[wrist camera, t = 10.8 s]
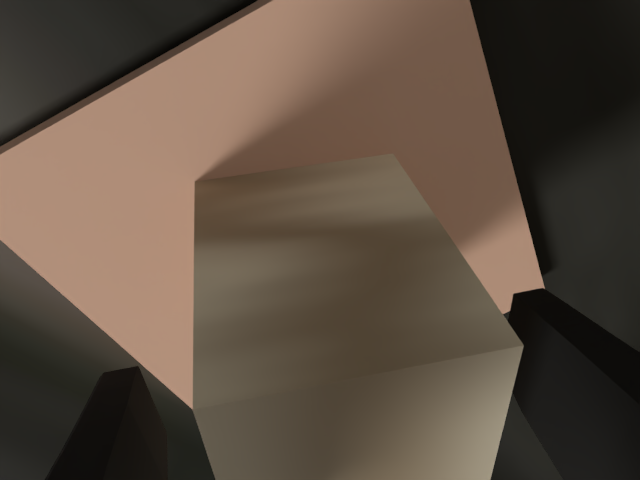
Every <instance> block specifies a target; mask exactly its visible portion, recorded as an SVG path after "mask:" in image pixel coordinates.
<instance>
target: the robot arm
mask: <svg viewBox="0 0 640 480" xmlns="http://www.w3.org/2000/svg"><path fill="white" fill-rule="evenodd" d="M508 323H509V324H510V326H511V327H512V329H513V330H514V332H515V333H516V335H517V336H518V338H519V339H520V340H521V342H522V343H523V345H524V347H523V351H522V355H521V359H520V363H519V367H518V371H517V375H516V379H515V383H514V387H513V391H512V392H513V394H514V396H515V398H516V400H517V403H518V405H519V407H520V409H521V411H522V413H523V414H524V416H525V418H526V419H527V421H528V423H529V424H530V426H531V428H532V429H533V431H534V433H535V434H536V436H537V438H538V439H539V441H540V443H541V444H542V446H543V447H544V449H545V451H546V452H547V454H548V456H549V457H550V459H551V460H552V462H553V464H554V465H555V467H556V469H557V470H558V472H559V473H560V475H561V477H562V478H563V480H640V352H638V351H637V350H635V349H634V348H632V347H630V346H629V345H627V344H626V343H624V342H623V341H621V340H620V339H618V338H617V337H615V336H614V335H612V334H611V333H609V332H608V331H606V330H605V329H603V328H602V327H600V326H599V325H598V324H596V323H595V322H593V321H592V320H590V319H589V318H587V317H586V316H584V315H583V314H581V313H580V312H578V311H577V310H575V309H574V308H572V307H571V306H569V305H568V304H567V303H565V302H564V301H562V300H561V299H559V298H558V297H556V296H555V295H553V294H551V293H550V292H548V291H547V290H545V289H544V288H539V289H534V290H529V291H524V292H519V293H514V294H513V298H512V303H511V309H510V314H509V319H508ZM45 480H168V473H167V433H166V430H165V428H164V426H163V423H162V421H161V419H160V416H159V414H158V411H157V409H156V407H155V404H154V402H153V400H152V397H151V395H150V393H149V390H148V388H147V386H146V383H145V381H144V378H143V376H142V374H141V371H140V369H139V367H138V366H136V367H131V368H126V369H120V370H115V371H110V372H105V373H103V374H102V376H101V377H100V378H99V380H98V382H97V384H96V386H95V388H94V390H93V392H92V394H91V396H90V398H89V400H88V402H87V404H86V405H85V407H84V409H83V411H82V413H81V415H80V417H79V419H78V421H77V423H76V425H75V427H74V428H73V430H72V432H71V434H70V436H69V438H68V440H67V441H66V443H65V445H64V447H63V449H62V451H61V452H60V454H59V456H58V458H57V459H56V461H55V463H54V465H53V466H52V468H51V470H50V472H49V474H48V475H47V477H46V479H45Z"/></svg>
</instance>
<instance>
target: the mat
mask: <svg viewBox="0 0 640 480" xmlns="http://www.w3.org/2000/svg"><path fill="white" fill-rule="evenodd" d="M392 153H393V154H394V156H395V157H396V158H397V160H398V161H399V163H400V164H401V166H402V167H403V169H404V170H405V172H406V173H407V175H408V176H409V178H410V179H411V180H412V182H413V183H414V185H415V186H416V188H417V189H418V191H419V192H420V194H421V195H422V197H423V198H424V200H425V201H426V202H427V204H428V205H429V207H430V208H431V210H432V211H433V213H434V214H435V216H436V217H437V219H438V220H439V222H440V223H441V225H442V226H443V227H444V229H445V230H446V232H447V233H448V235H449V236H450V238H451V239H452V241H453V242H454V244H455V245H456V247H457V248H458V249H459V251H460V252H461V254H462V255H463V257H464V258H465V260H466V261H467V263H468V264H469V266H470V267H471V269H472V270H473V271H474V273H475V274H476V276H477V277H478V279H479V280H480V282H481V283H482V285H483V286H484V288H485V289H486V291H487V292H488V294H489V295H490V296H491V298H492V299H493V301H494V302H495V304H496V305H497V307H498V308H499V310H500V311H501V313H502V314H504V313H506V312H508V311H510V309H511V303H512V298H513V294H514V293H519V292H524V291H529V290H534V289H539V288H544V284H543V280H542V276H541V272H540V269H539V265H538V261H537V257H536V253H535V249H534V246H533V242H532V238H531V234H530V230H529V226H528V223H527V219H526V215H525V211H524V207H523V203H522V200H521V196H520V192H519V188H518V184H517V180H516V177H515V173H514V169H513V165H512V161H511V157H510V154H509V150H508V146H507V142H506V138H505V134H504V131H503V127H502V123H501V119H500V115H499V111H498V108H497V104H496V100H495V96H494V92H493V88H492V85H491V81H490V77H489V73H488V69H487V65H486V62H485V58H484V54H483V50H482V46H481V42H480V39H479V35H478V31H477V27H476V23H475V19H474V16H473V12H472V8H471V4H470V0H258V1H256V2H254V3H253V4H251V5H249V6H247V7H246V8H244V9H242V10H240V11H238V12H237V13H235V14H233V15H231V16H230V17H228V18H226V19H224V20H223V21H221V22H219V23H217V24H216V25H214V26H212V27H210V28H208V29H207V30H205V31H203V32H201V33H200V34H198V35H196V36H194V37H193V38H191V39H189V40H187V41H186V42H184V43H182V44H180V45H179V46H177V47H175V48H173V49H171V50H170V51H168V52H166V53H164V54H163V55H161V56H159V57H157V58H156V59H154V60H152V61H150V62H149V63H147V64H145V65H143V66H141V67H140V68H138V69H136V70H134V71H133V72H131V73H129V74H127V75H126V76H124V77H122V78H120V79H119V80H117V81H115V82H113V83H112V84H110V85H108V86H106V87H104V88H103V89H101V90H99V91H97V92H96V93H94V94H92V95H90V96H89V97H87V98H85V99H83V100H82V101H80V102H78V103H76V104H75V105H73V106H71V107H69V108H67V109H66V110H64V111H62V112H60V113H59V114H57V115H55V116H53V117H52V118H50V119H48V120H46V121H45V122H43V123H41V124H39V125H37V126H36V127H34V128H32V129H30V130H29V131H27V132H25V133H23V134H22V135H20V136H18V137H16V138H15V139H13V140H11V141H9V142H8V143H6V144H4V145H2V146H0V240H1V241H3V242H4V243H5V244H6V245H7V246H8V247H9V248H10V249H12V250H13V251H14V252H15V253H16V254H17V255H18V256H19V257H21V258H22V259H23V260H24V261H25V262H26V263H27V264H29V265H30V266H31V267H32V268H33V269H34V270H35V271H36V272H38V273H39V274H40V275H41V276H42V277H43V278H44V279H46V280H47V281H48V282H49V283H50V284H51V285H52V286H53V287H55V288H56V289H57V290H58V291H59V292H60V293H61V294H63V295H64V296H65V297H66V298H67V299H68V300H69V301H70V302H72V303H73V304H74V305H75V306H76V307H77V308H78V309H79V310H81V311H82V312H83V313H84V314H85V315H86V316H87V317H89V318H90V319H91V320H92V321H93V322H94V323H95V324H96V325H98V326H99V327H100V328H101V329H102V330H103V331H104V332H106V333H107V334H108V335H109V336H110V337H111V338H112V339H113V340H115V341H116V342H117V343H118V344H119V345H120V346H121V347H123V348H124V349H125V350H126V351H127V352H128V353H129V354H130V355H132V356H133V357H134V358H135V359H136V360H137V361H138V362H140V363H141V364H142V365H143V366H144V367H145V368H146V369H147V370H149V371H150V372H151V373H152V374H153V375H154V376H155V377H156V378H158V379H159V380H160V381H161V382H162V383H163V384H164V385H166V386H167V387H168V388H169V389H170V390H171V391H172V392H173V393H175V394H176V395H177V396H178V397H179V398H180V399H181V400H183V401H184V402H185V403H186V404H187V405H188V406H189V407H190V408H192V409H193V307H194V191H195V181H202V180H209V179H216V178H223V177H230V176H237V175H244V174H251V173H258V172H265V171H273V170H280V169H287V168H294V167H301V166H308V165H315V164H322V163H329V162H336V161H343V160H350V159H357V158H364V157H371V156H378V155H385V154H392ZM544 289H545V288H544Z"/></svg>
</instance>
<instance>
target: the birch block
mask: <svg viewBox="0 0 640 480" xmlns="http://www.w3.org/2000/svg"><path fill="white" fill-rule="evenodd" d="M523 347H524V345H523V343H522V342H521V340H520V339H519V338H518V336H517V335H516V333H515V332H514V330H513V329H512V327H511V326H510V324H509V323H508V321H507V320H506V318H505V317H504V316H503V314H502V313H501V311H500V310H499V308H498V307H497V305H496V304H495V302H494V301H493V299H492V298H491V296H490V295H489V294H488V292H487V291H486V289H485V288H484V286H483V285H482V283H481V282H480V280H479V279H478V277H477V276H476V274H475V273H474V271H473V270H472V269H471V267H470V266H469V264H468V263H467V261H466V260H465V258H464V257H463V255H462V254H461V252H460V251H459V249H458V248H457V247H456V245H455V244H454V242H453V241H452V239H451V238H450V236H449V235H448V233H447V232H446V230H445V229H444V227H443V226H442V225H441V223H440V222H439V220H438V219H437V217H436V216H435V214H434V213H433V211H432V210H431V208H430V207H429V205H428V204H427V202H426V201H425V200H424V198H423V197H422V195H421V194H420V192H419V191H418V189H417V188H416V186H415V185H414V183H413V182H412V180H411V179H410V178H409V176H408V175H407V173H406V172H405V170H404V169H403V167H402V166H401V164H400V163H399V161H398V160H397V158H396V157H395V156H394V154H393V153H392V154H385V155H378V156H371V157H364V158H357V159H350V160H343V161H336V162H329V163H322V164H315V165H308V166H301V167H294V168H287V169H280V170H273V171H265V172H258V173H251V174H244V175H237V176H230V177H223V178H216V179H209V180H202V181H195V191H194V307H193V412H194V415H195V418H196V421H197V424H198V427H199V430H200V433H201V436H202V440H203V443H204V446H205V449H206V452H207V455H208V458H209V461H210V464H211V467H212V470H213V473H214V476H215V479H216V480H490V479H491V475H492V471H493V467H494V463H495V459H496V455H497V451H498V447H499V443H500V439H501V435H502V431H503V427H504V423H505V419H506V415H507V411H508V407H509V403H510V399H511V395H512V391H513V387H514V383H515V379H516V375H517V371H518V367H519V363H520V359H521V355H522V351H523Z"/></svg>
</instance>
